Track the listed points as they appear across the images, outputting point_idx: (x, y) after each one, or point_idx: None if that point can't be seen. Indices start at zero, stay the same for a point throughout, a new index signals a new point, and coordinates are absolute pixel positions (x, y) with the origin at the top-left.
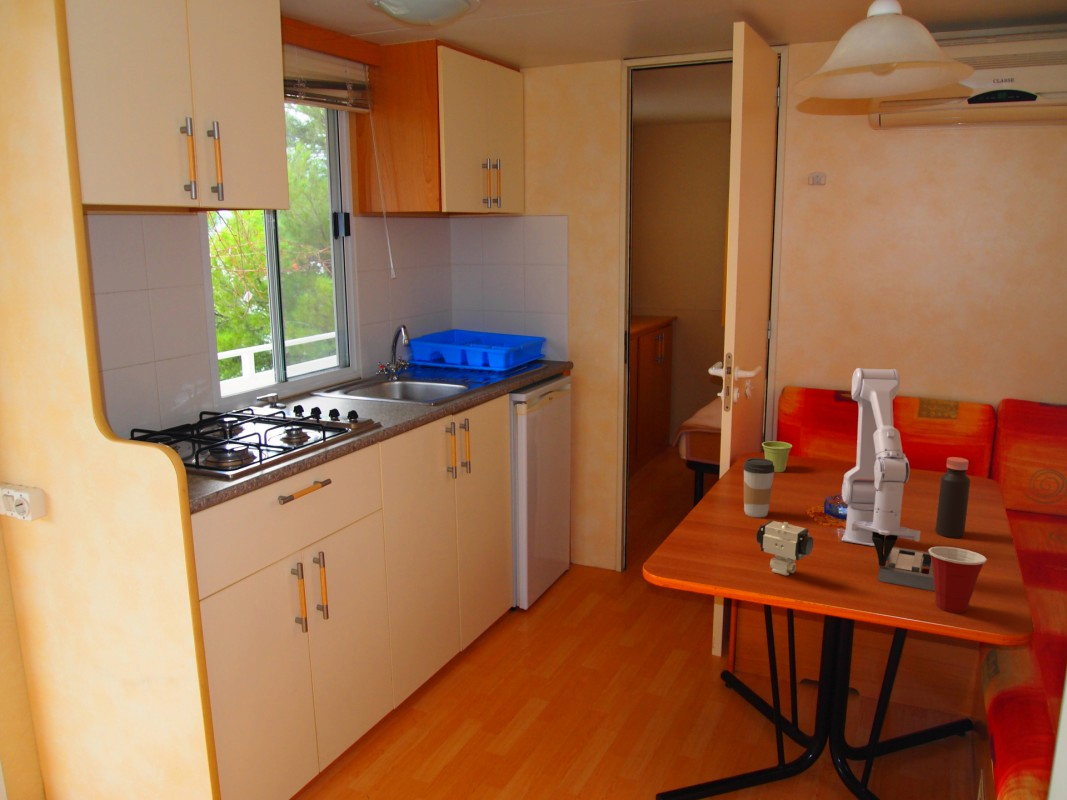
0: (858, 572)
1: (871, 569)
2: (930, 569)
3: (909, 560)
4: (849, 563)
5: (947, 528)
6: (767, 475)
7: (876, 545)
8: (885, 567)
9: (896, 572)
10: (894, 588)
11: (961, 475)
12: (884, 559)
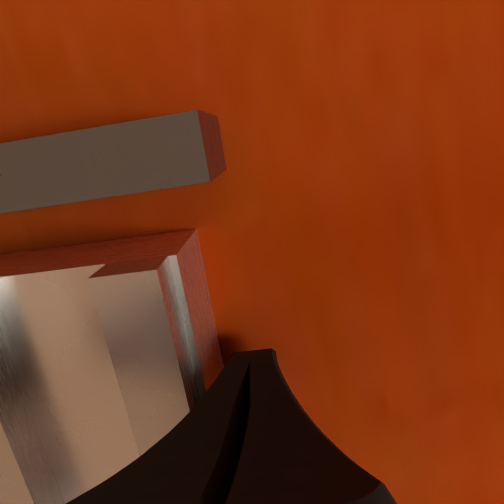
0: (384, 199)
1: (314, 311)
2: None
3: (81, 468)
4: (472, 330)
5: None
6: None
7: (313, 450)
8: (155, 173)
9: (44, 138)
10: (70, 38)
11: None
12: (230, 376)
